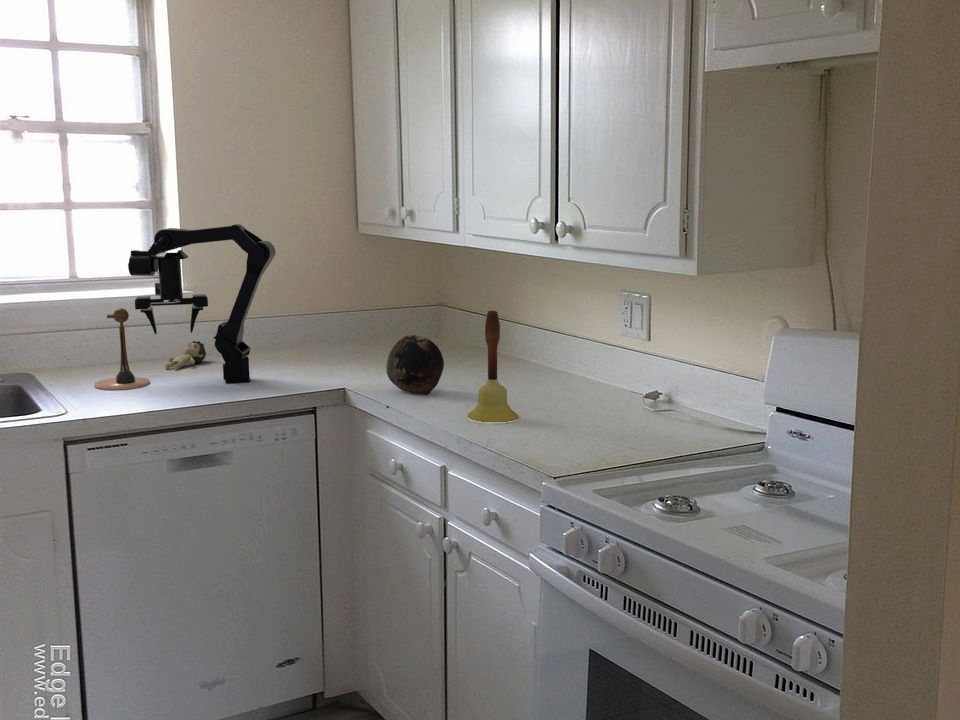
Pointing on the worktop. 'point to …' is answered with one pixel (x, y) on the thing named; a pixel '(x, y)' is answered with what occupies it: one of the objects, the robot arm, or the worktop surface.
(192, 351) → the figurine
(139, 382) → the coaster
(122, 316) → the wooden tabletop sculpture
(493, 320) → the handbell
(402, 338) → the decorative stone
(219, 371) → the worktop surface
